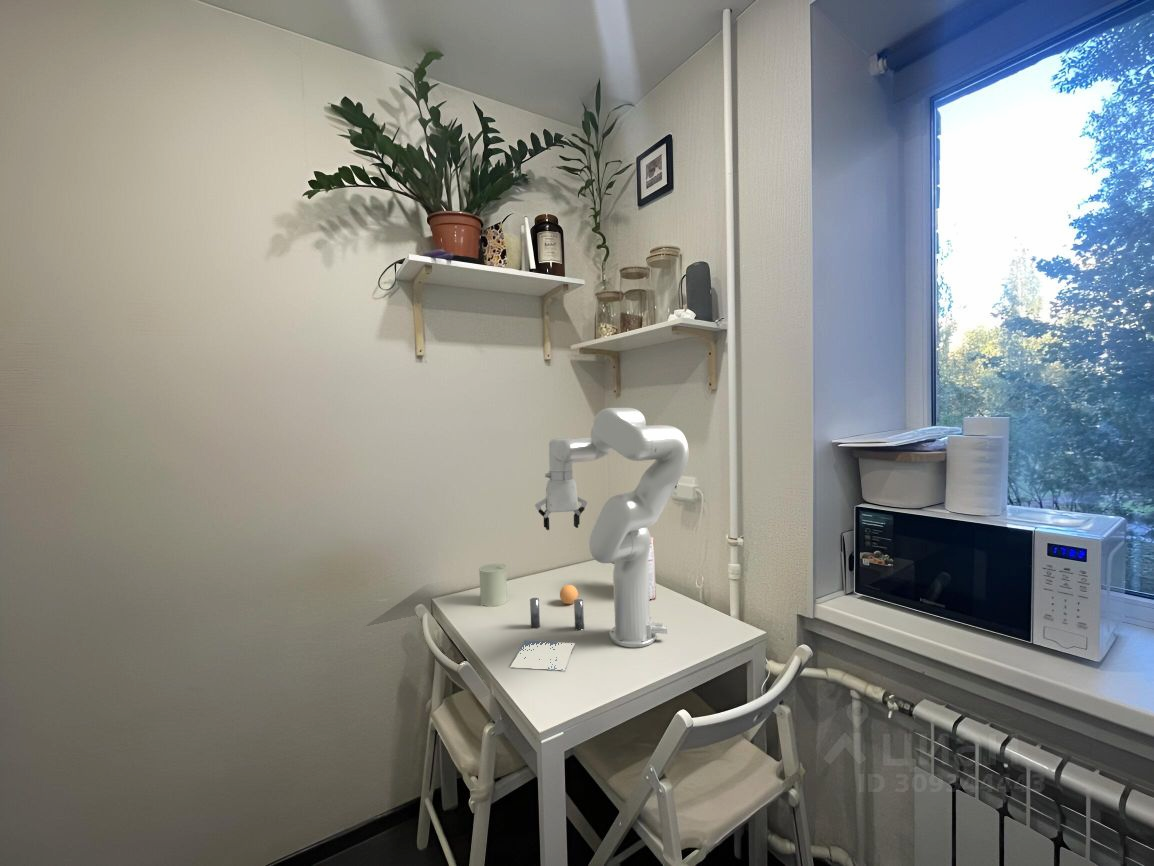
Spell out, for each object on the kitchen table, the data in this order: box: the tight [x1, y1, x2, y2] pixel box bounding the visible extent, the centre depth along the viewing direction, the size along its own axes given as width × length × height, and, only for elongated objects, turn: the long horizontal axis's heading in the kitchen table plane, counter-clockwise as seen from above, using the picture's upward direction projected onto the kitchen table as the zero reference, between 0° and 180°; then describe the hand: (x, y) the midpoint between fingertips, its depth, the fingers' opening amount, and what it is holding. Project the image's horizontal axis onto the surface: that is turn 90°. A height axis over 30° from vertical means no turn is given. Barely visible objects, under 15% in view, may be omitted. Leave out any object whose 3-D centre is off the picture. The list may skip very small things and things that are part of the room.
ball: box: [559, 584, 579, 605], centre depth 149 cm, size 6×6×6 cm
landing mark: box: [514, 639, 572, 671], centre depth 116 cm, size 14×14×1 cm
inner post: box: [573, 598, 585, 631], centre depth 130 cm, size 3×3×8 cm
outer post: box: [529, 597, 541, 629], centre depth 132 cm, size 3×3×8 cm
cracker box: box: [648, 535, 657, 601], centre depth 155 cm, size 14×6×21 cm, turn 24°
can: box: [478, 563, 509, 607], centre depth 154 cm, size 9×9×12 cm
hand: (561, 528), depth 148 cm, fingers open, 9 cm apart
